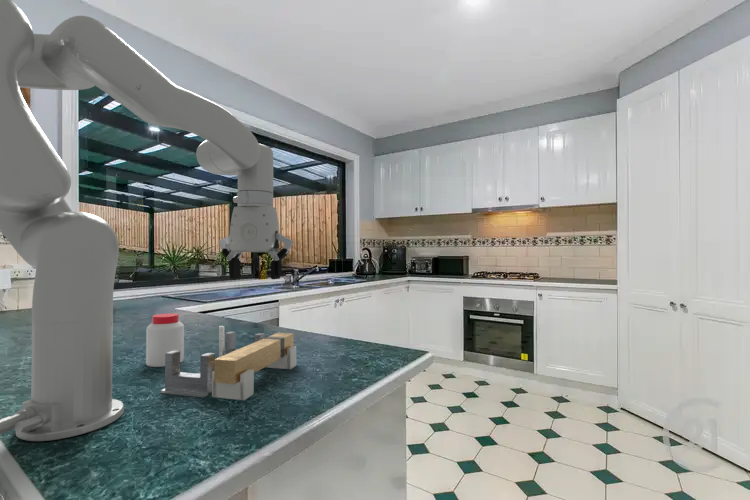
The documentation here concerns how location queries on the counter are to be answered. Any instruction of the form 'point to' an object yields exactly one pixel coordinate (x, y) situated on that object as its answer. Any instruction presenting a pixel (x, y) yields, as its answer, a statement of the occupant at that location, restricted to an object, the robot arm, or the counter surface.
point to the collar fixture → (202, 381)
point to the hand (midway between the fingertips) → (255, 278)
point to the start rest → (250, 379)
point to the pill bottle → (164, 338)
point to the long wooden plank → (252, 357)
